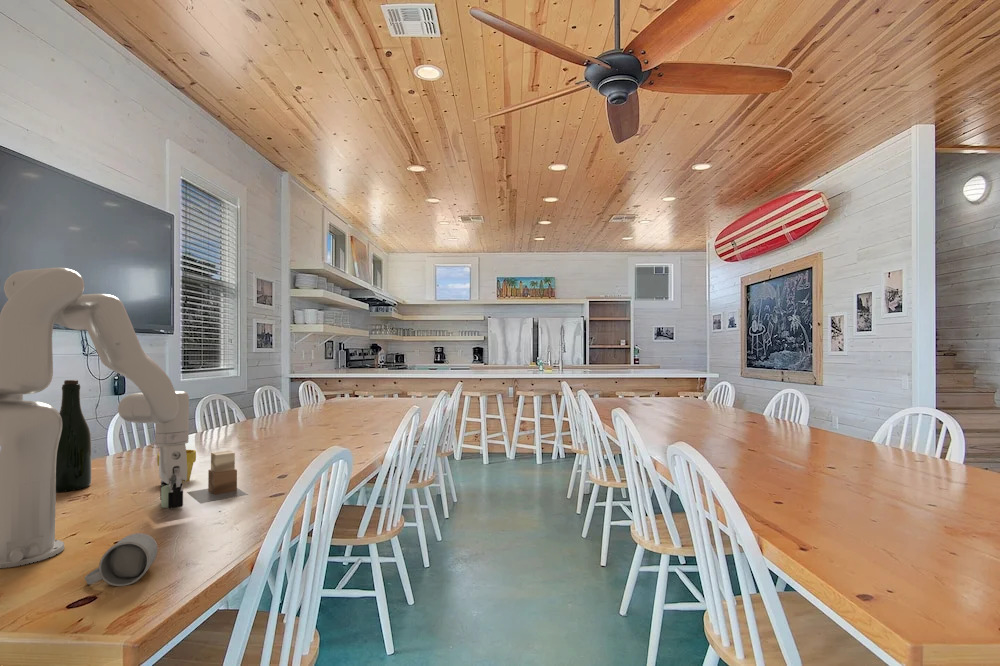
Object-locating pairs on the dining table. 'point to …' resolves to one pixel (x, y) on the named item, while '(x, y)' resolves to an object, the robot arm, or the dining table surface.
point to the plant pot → (190, 460)
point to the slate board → (207, 496)
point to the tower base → (222, 481)
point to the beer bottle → (73, 442)
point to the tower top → (222, 461)
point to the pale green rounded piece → (165, 496)
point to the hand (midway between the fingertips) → (171, 503)
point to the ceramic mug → (125, 561)
